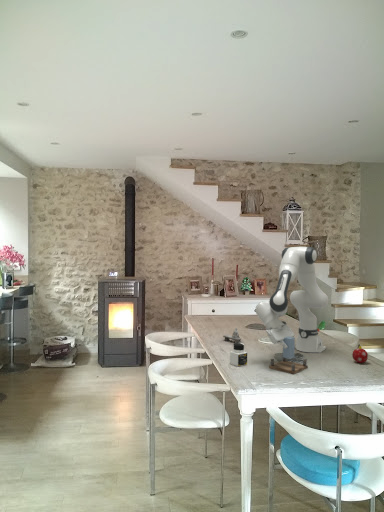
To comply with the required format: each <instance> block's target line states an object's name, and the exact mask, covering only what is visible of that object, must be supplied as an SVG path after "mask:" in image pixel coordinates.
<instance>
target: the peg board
mask: <svg viewBox="0 0 384 512" xmlns="http://www.w3.org/2000/svg"><path fill="white" fill-rule="evenodd" d="M302 361H303V362H302V363H298V362H293V361H289V360H287V358H284V357H283V356H282V360H281V361H277V362H275V359H274V358H270V365H269V366H268V369H269V370H270V369H271V370H274V371H279V372H283V373H287V374H291V375H295V374H298V373H300V372H302V371H304V370H307V369H308V368H309V366H308V364H307V363H308V362H307V361H308V360H307V359H306V358H304V359H302Z"/></svg>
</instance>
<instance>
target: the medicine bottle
mask: <svg viewBox="0 0 384 512" xmlns="http://www.w3.org/2000/svg"><path fill="white" fill-rule="evenodd" d="M229 364H231V365H233V366H235V367H242V366H243V367H244V366H247V365H248V351H245V344H244V343H242V342H240V343H235V342H234V343H233V350H232V351H230V352H229Z"/></svg>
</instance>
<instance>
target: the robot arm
mask: <svg viewBox="0 0 384 512" xmlns="http://www.w3.org/2000/svg"><path fill="white" fill-rule="evenodd" d="M317 258H318V252H317V250H316V249H315V248H314V247H313V246H292V247H291V246H289V247H285V248H283V250H282V251H281V262H280V264H279V269H278V281H277V285H276V289H275V291H274V293H273V294H272V295H271V296H270V299H269V300H268V301H263V300H262V301H260V302H259V303H258V304H256V306H255V310H254V312H255V314H256V316H257V317H258V319H259V320H260V322H262V323H263V325H264V328H266V330H265V332H266V334H267V336H268V338H269V340H270V342H271V343H272V344H273V345H277V344H280V345H281V346H282V347H283V346H284V348H285V349H286V348H288V345H287V344H285V343H284V341H283V340H284V338H285V337H293V338H295V333H294V331H293V330H292V329H291V327H290V326H289V325H288V322H287V321H284V320H281V319H280V318H281V317H283V316H285V315H286V314H287V312H288V309H289V308H288V307H289V306H288V303H289V301H288V291H289V287H290V284H291V282H293V281H295V280H296V278H297V281H298V284H299V285H300V286H301V287H303V288H304V289H305V290H301V289H300V290H293V291H292V292H291V293H290V295H289V300H290V303H291V305H292V306H293V307H294V308H295V309H296V311H297V313H298V317H299V318H298V319H299V324H298V326H299V327H298V334H297V335H296V340H295V342H296V343H295V345H294V349H296V350H297V351H300V352H303V353H323V352H324V350H326V349H327V346H325V345H323V343H324V342H323V338H322V337H321V336H320V334H319V332H320V328H318V319H317V318H318V317H317V316H316V315H315V313H313V312H312V311H311V309H325V308H326V307H327V306H328V304H329V297H328V295H327V294H326V293H325V292H324V291H322V289H321V287H319V285H318V282H317V276H316V267H315V262H316V261H317Z"/></svg>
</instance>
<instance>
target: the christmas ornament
mask: <svg viewBox="0 0 384 512" xmlns="http://www.w3.org/2000/svg"><path fill="white" fill-rule="evenodd" d="M351 353H352V354H351V355H352V359H353V360H354V362H356V363H358V364H363V363H366V362H367V361H368V359H369V353H368V351H366V349H364V348H363V347H362V346H361V345H359V347H357V348H355V349H354V350H353V351H352V352H351Z"/></svg>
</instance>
